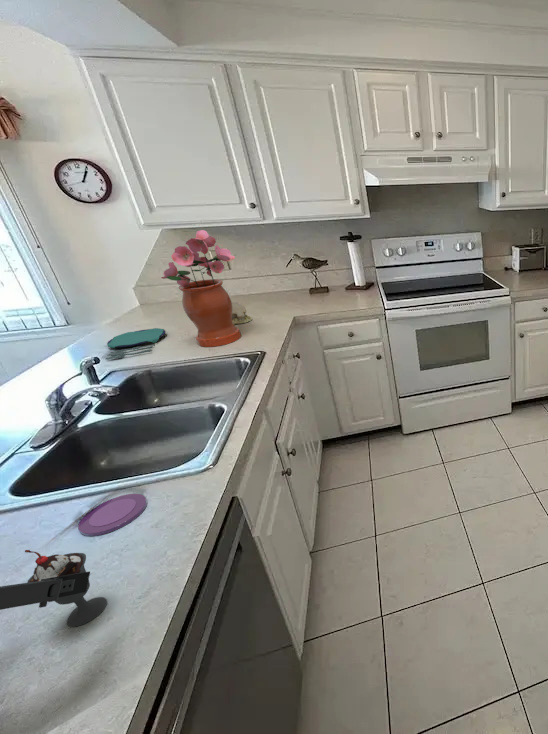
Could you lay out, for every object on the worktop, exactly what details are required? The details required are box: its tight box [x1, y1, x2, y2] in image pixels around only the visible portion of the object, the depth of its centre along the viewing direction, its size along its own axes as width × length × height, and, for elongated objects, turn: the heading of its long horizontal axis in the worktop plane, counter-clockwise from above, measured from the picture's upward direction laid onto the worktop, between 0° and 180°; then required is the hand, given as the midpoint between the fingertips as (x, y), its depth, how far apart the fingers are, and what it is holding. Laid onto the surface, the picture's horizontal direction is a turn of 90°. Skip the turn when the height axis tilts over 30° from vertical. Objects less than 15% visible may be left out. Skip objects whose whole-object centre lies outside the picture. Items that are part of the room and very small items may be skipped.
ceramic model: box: [232, 301, 253, 325], centre depth 194 cm, size 14×11×10 cm
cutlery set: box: [104, 327, 166, 361], centre depth 173 cm, size 20×30×2 cm, turn 28°
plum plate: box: [77, 493, 148, 537], centre depth 87 cm, size 11×11×1 cm
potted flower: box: [160, 229, 242, 348], centre depth 166 cm, size 19×25×45 cm
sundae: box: [24, 549, 108, 628], centre depth 65 cm, size 7×7×15 cm
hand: (36, 586), depth 60 cm, fingers open, 13 cm apart
